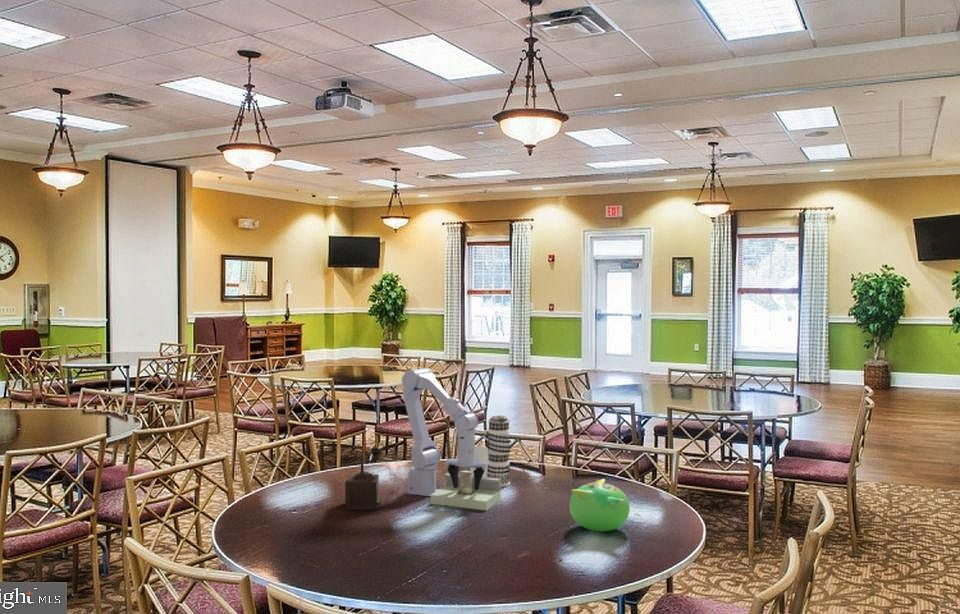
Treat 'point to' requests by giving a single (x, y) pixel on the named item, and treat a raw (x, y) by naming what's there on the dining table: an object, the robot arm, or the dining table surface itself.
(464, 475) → the peg
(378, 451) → the pepper mill
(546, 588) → the dining table surface
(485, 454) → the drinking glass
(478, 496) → the socket board
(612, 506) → the toy bird
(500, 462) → the decorative candle
